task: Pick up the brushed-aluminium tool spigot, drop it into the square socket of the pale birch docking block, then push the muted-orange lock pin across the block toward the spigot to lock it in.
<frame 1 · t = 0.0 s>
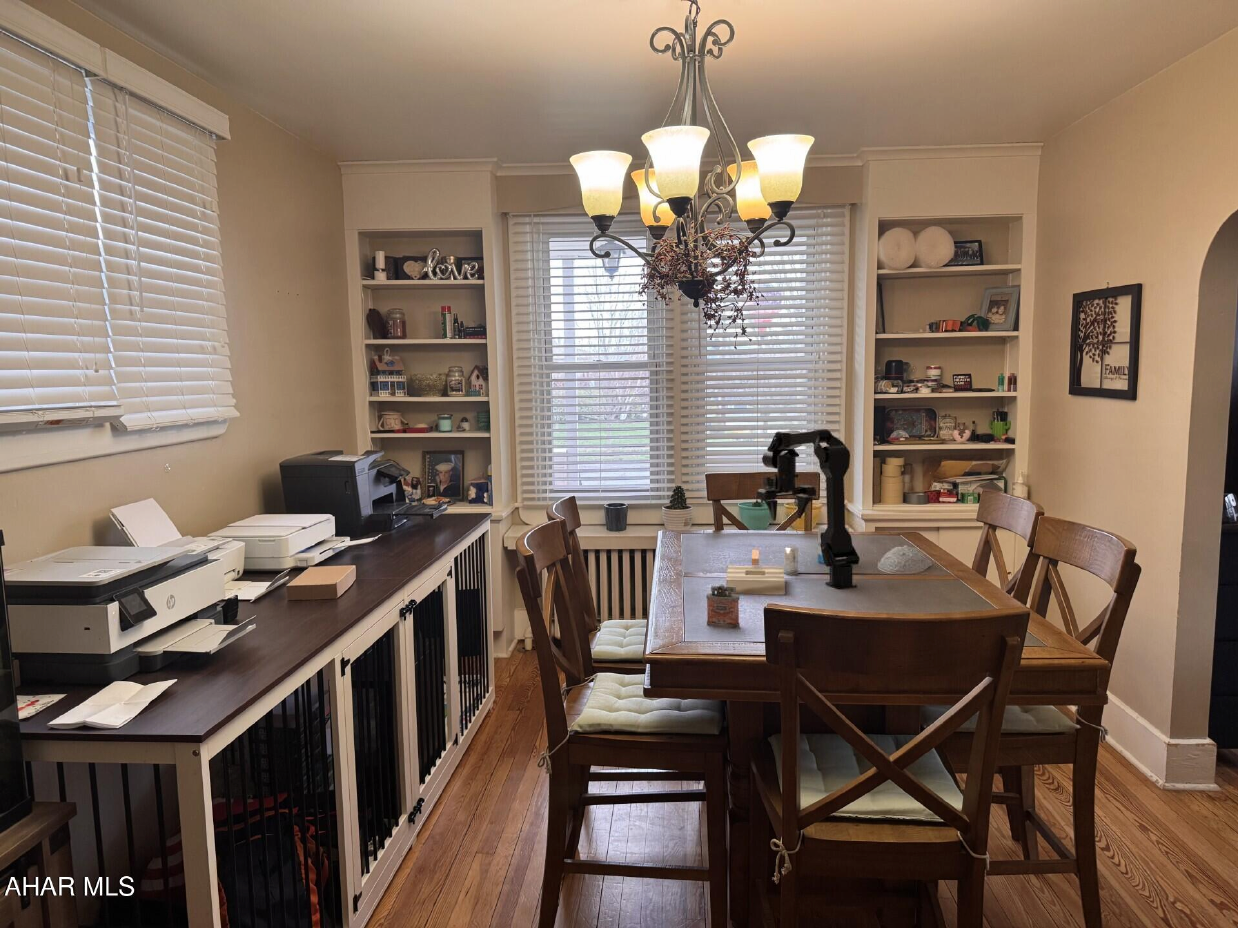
hand: (786, 519, 250), 15 cm above the table, fingers open, 9 cm apart
lock pin: (755, 557, 240), point 5 cm above the table, slide at 5.0 cm
ink box: (833, 562, 253), on the table
tool spigot: (791, 573, 240), on the table
dock: (755, 586, 227), on the table
grey textured dome: (903, 567, 247), on the table
lighter: (723, 626, 192), on the table
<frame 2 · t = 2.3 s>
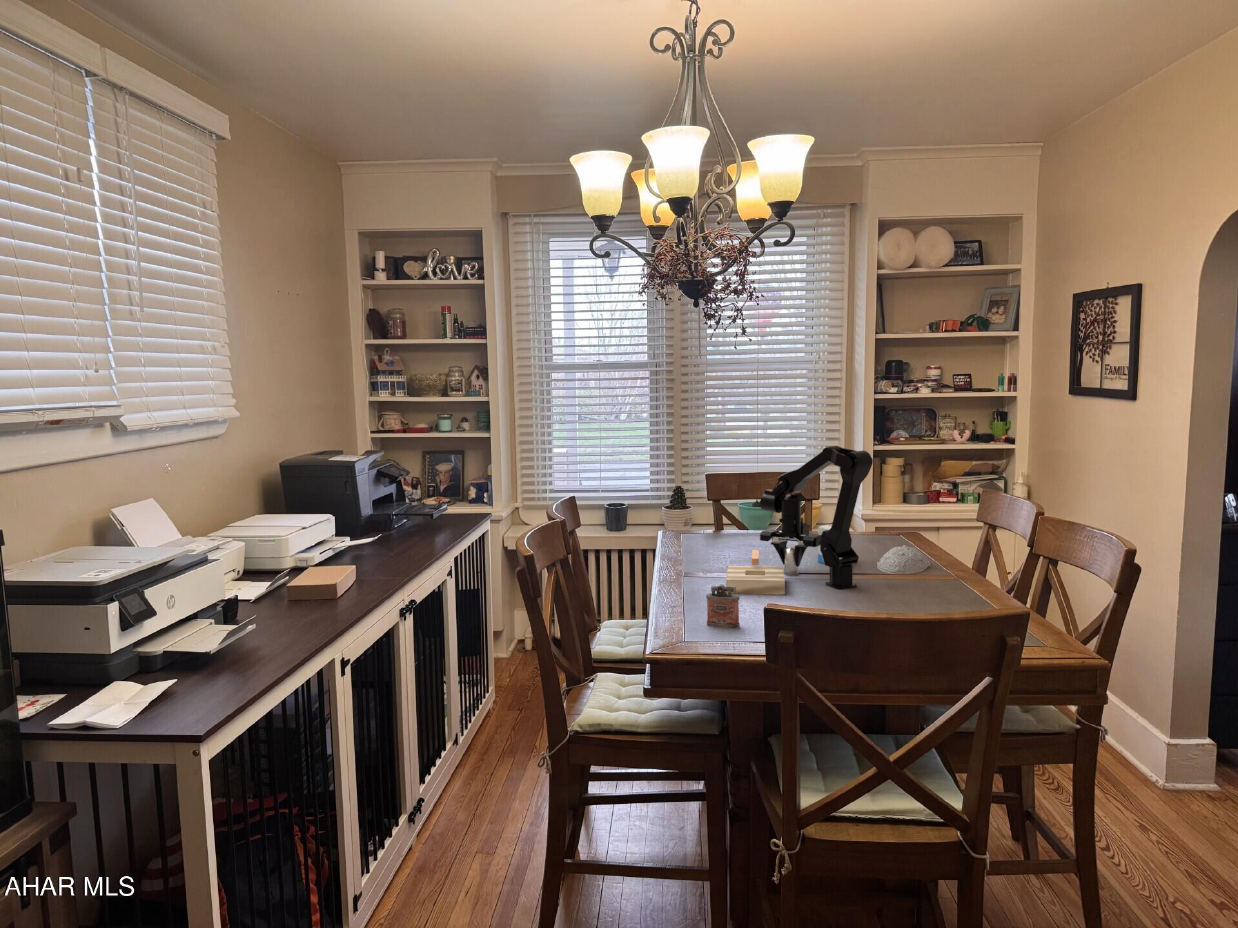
hand: (791, 565, 239), 3 cm above the table, fingers closed on tool spigot, 4 cm apart
tool spigot: (791, 573, 240), on the table, touching gripper
everything else where it was.
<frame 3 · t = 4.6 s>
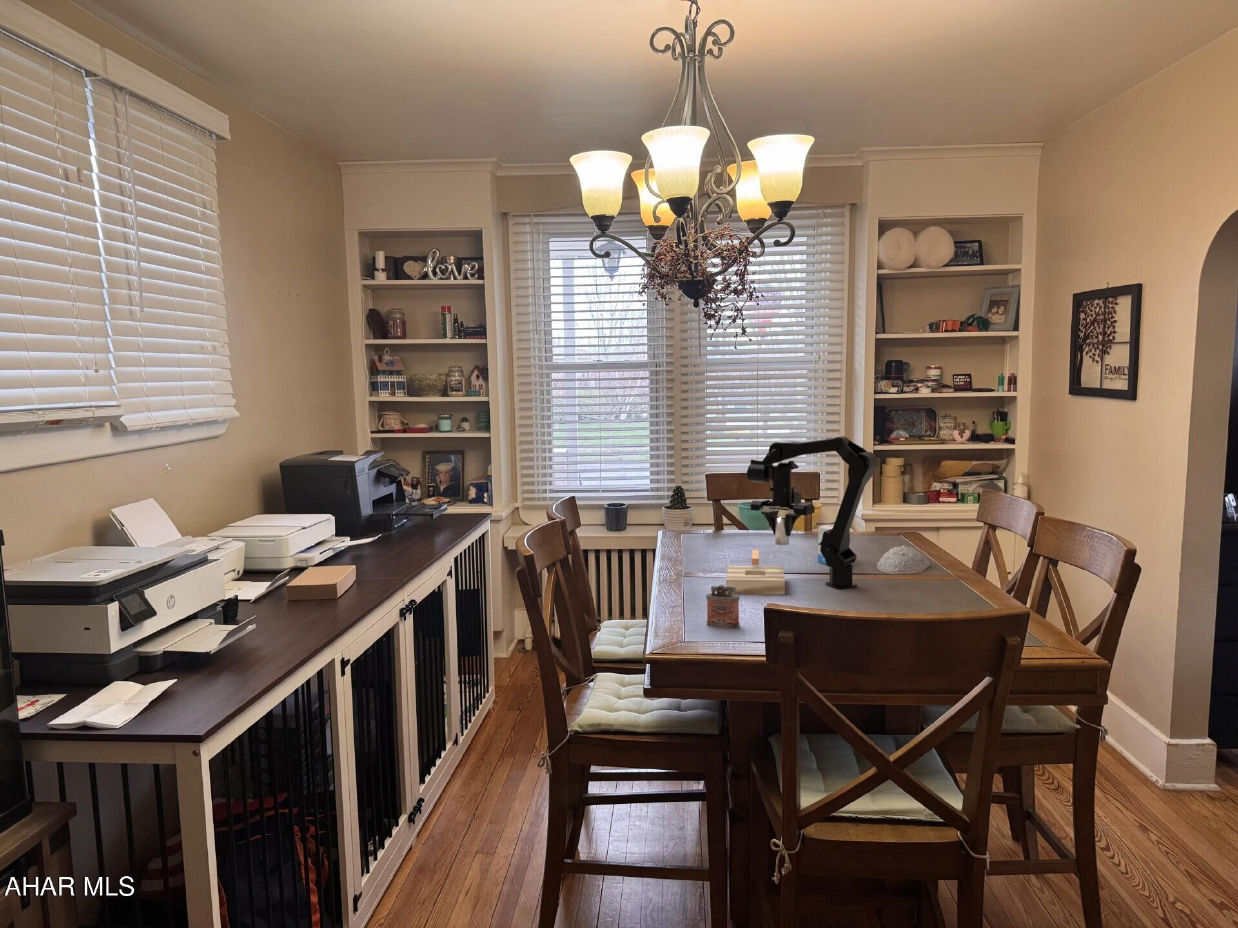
hand: (782, 535, 235), 13 cm above the table, fingers closed on tool spigot, 4 cm apart
tool spigot: (782, 543, 235), point 10 cm above the table, touching gripper
everything else where it was.
when the fingers open (5 cm above the table, at t = 7.3 s): tool spigot drops 3 cm, resting in dock.
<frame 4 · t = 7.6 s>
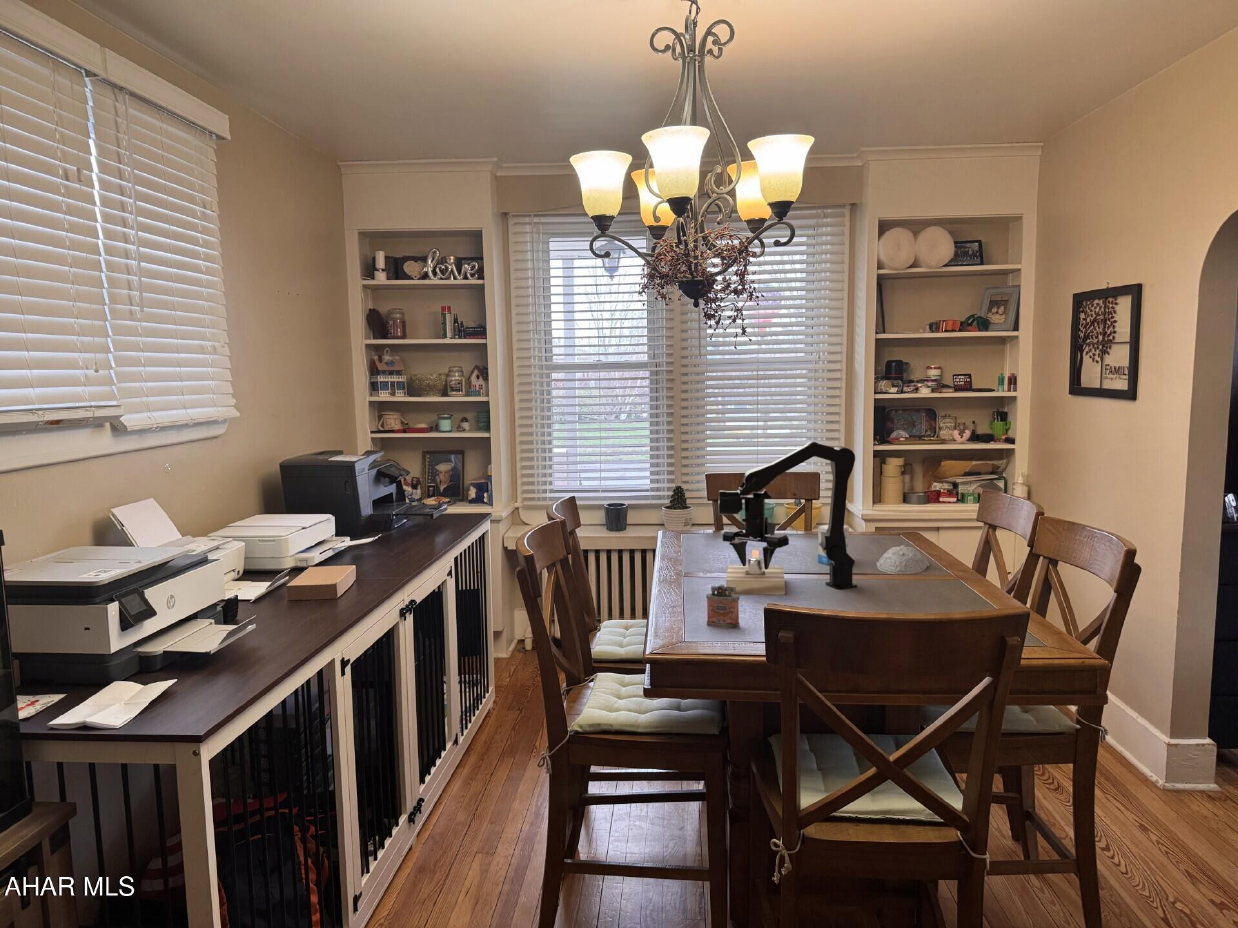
hand: (755, 567, 226), 5 cm above the table, fingers open, 7 cm apart
tool spigot: (755, 586, 227), resting in dock
everything else where it was.
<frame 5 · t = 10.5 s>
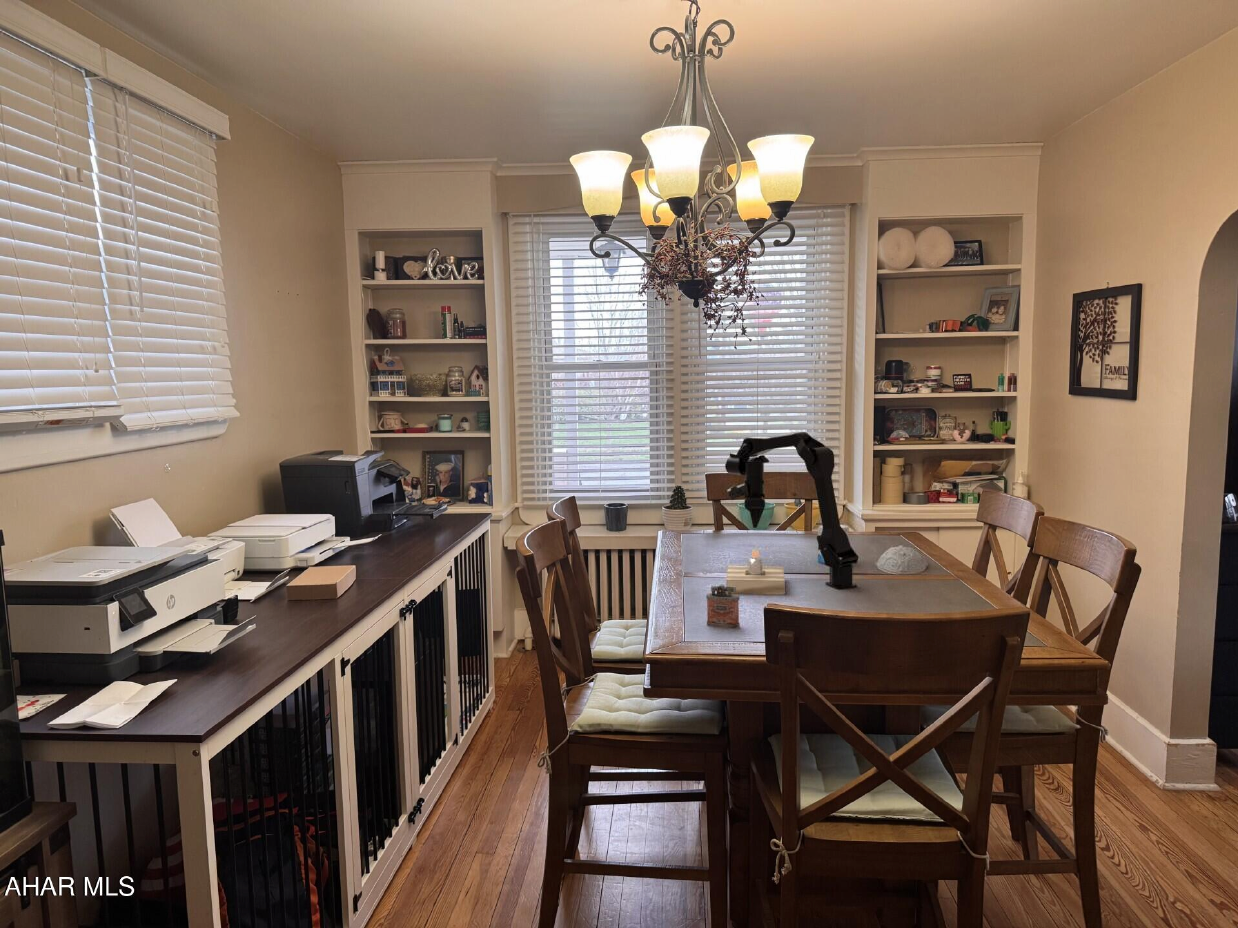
hand: (754, 525, 250), 13 cm above the table, fingers open, 7 cm apart
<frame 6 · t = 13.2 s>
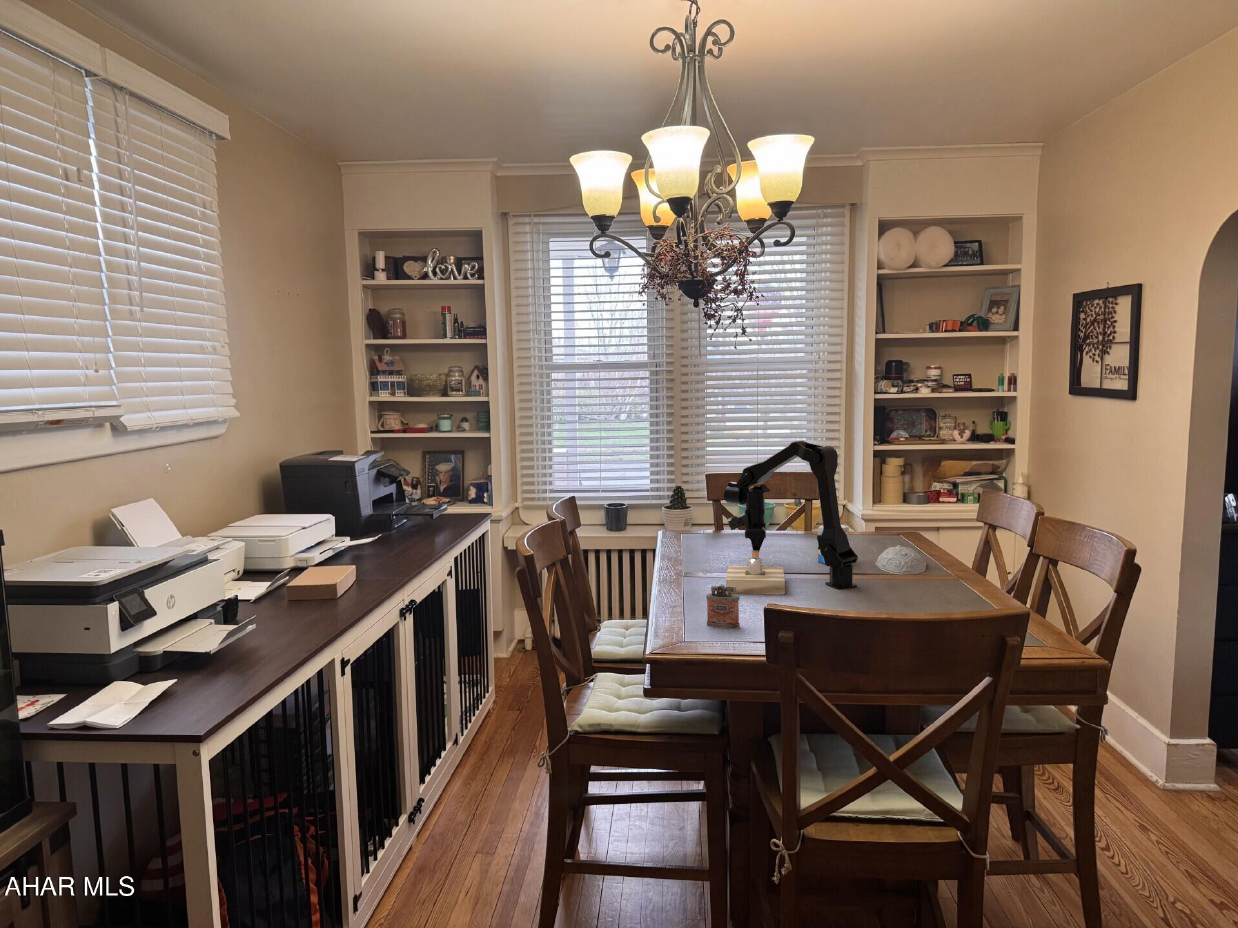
hand: (755, 555, 246), 4 cm above the table, fingers closed
lock pin: (755, 557, 239), point 5 cm above the table, slide at 4.2 cm, touching gripper
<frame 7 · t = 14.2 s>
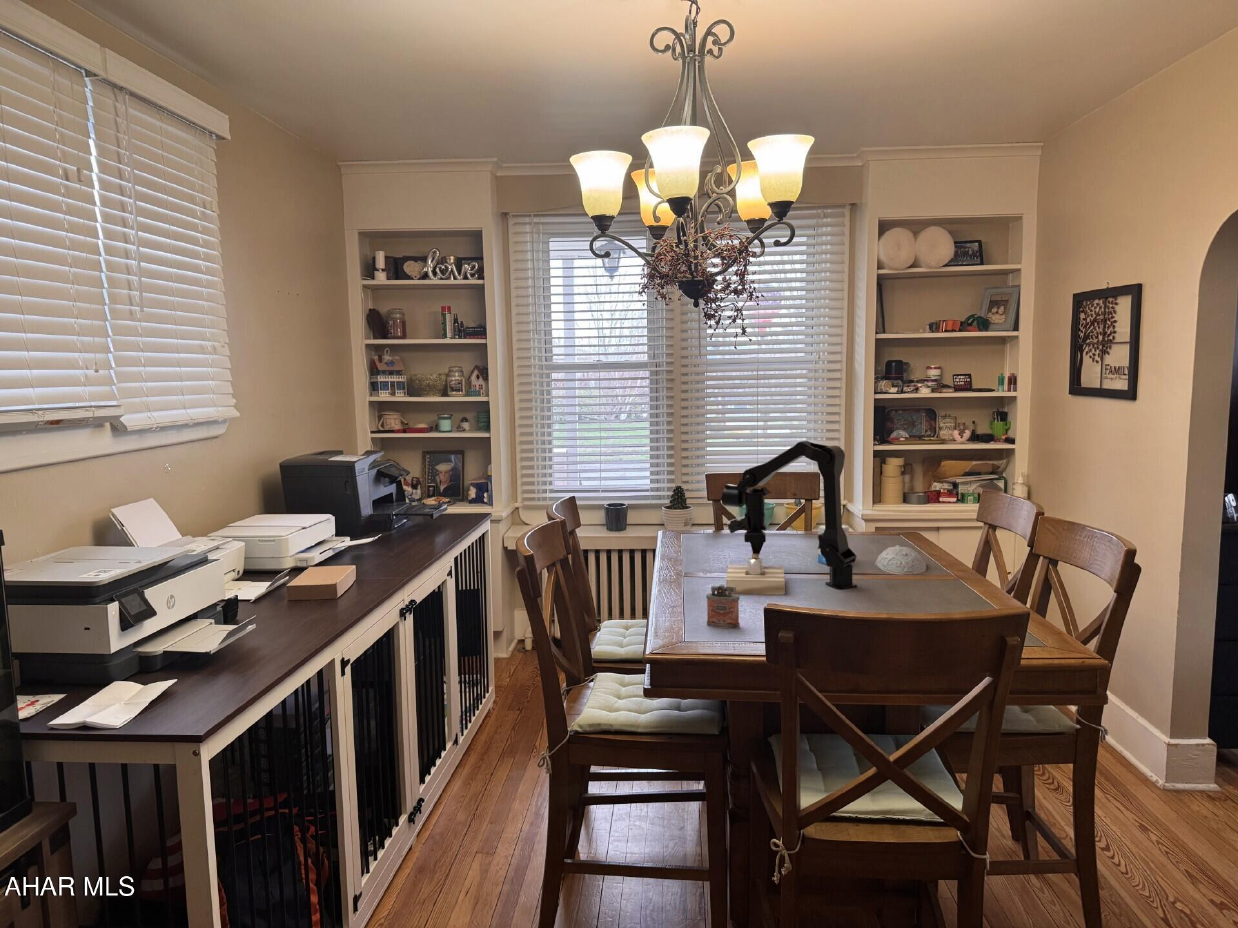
hand: (755, 558, 242), 4 cm above the table, fingers closed
lock pin: (755, 561, 235), point 5 cm above the table, slide at -0.2 cm, touching gripper
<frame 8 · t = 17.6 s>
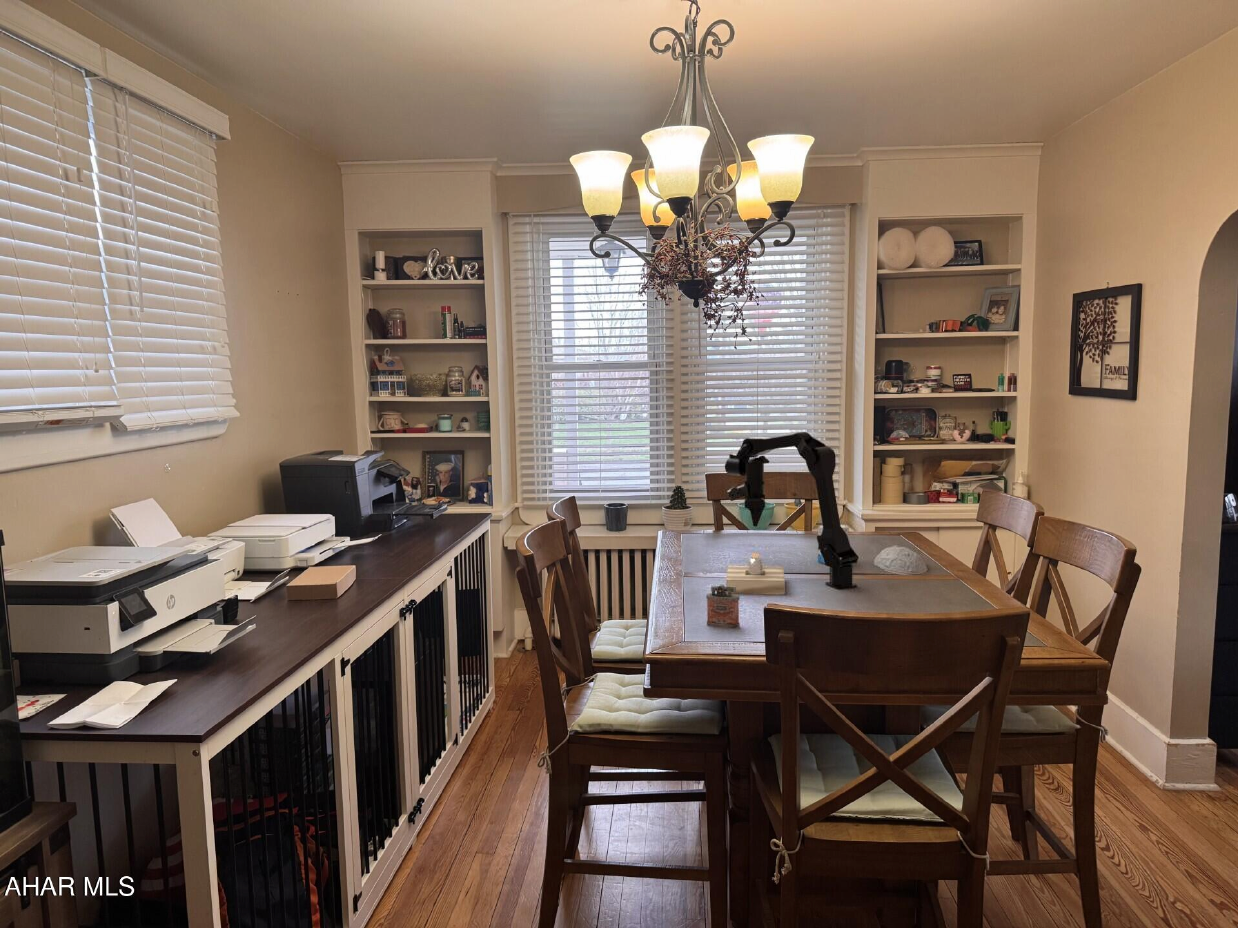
hand: (755, 526, 249), 13 cm above the table, fingers closed
lock pin: (755, 561, 235), point 5 cm above the table, slide at 0.0 cm
at the end: tool spigot 0.1 cm off-centre on the dock, point 0.0 cm above the dock's base; tool spigot tilted 0°; lock pin slide at 0.0 cm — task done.
